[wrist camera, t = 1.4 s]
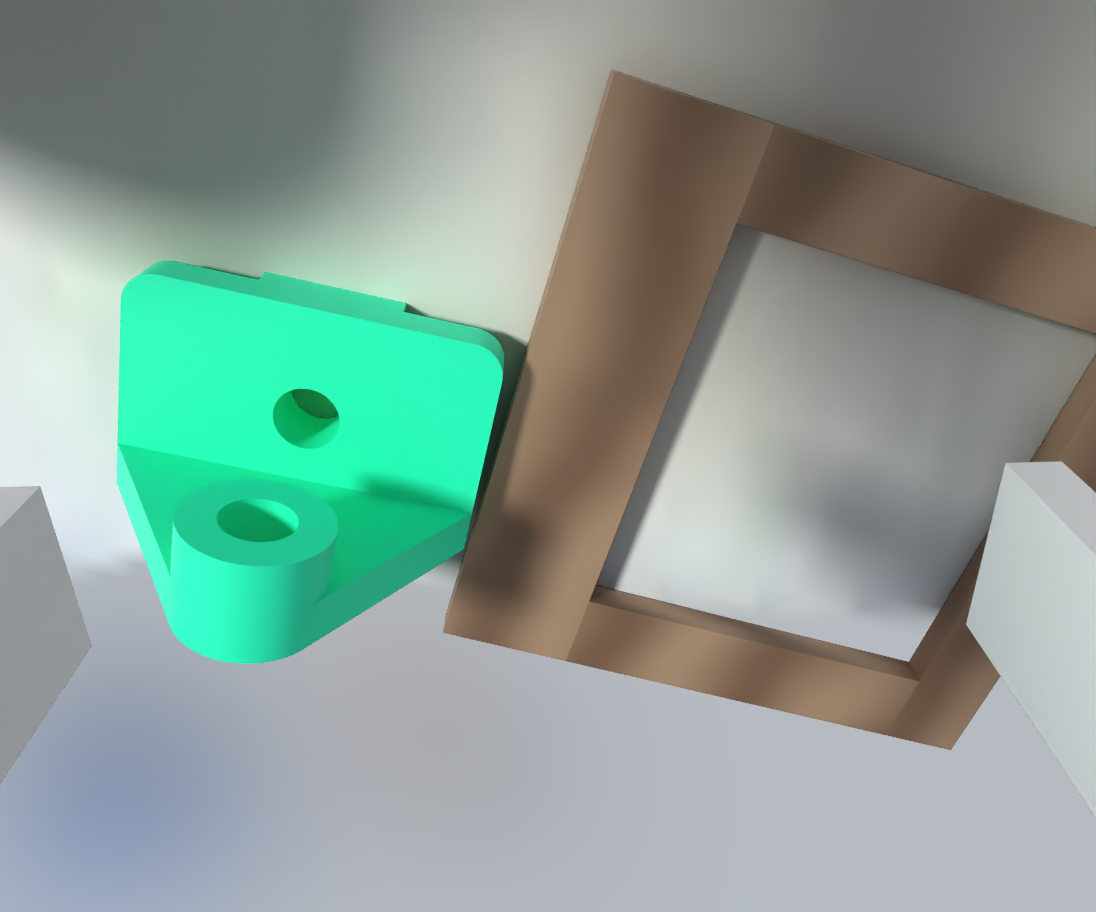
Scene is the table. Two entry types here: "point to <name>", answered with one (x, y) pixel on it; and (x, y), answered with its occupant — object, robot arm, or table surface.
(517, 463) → the open wooden square frame
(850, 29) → the table surface
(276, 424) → the camera mount
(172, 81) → the table surface
